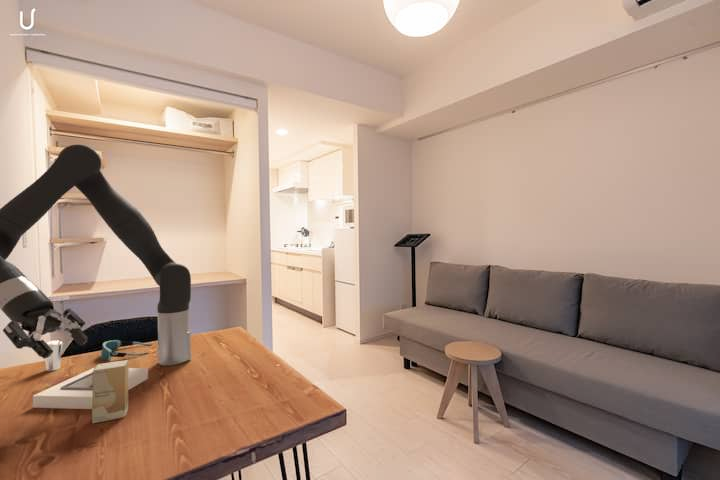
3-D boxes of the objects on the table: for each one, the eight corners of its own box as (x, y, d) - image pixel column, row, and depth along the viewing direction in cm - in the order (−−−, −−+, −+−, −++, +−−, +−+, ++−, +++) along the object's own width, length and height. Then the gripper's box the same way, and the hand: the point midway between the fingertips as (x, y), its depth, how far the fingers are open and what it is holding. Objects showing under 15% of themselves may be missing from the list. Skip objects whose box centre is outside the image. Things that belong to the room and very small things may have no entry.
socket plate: (94, 377, 96) (94, 366, 96) (147, 378, 95) (147, 367, 95) (33, 407, 80) (32, 394, 80) (97, 409, 78) (97, 395, 78)
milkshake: (52, 372, 100) (52, 341, 100) (39, 371, 101) (38, 340, 101) (68, 367, 105) (68, 336, 105) (55, 366, 106) (55, 335, 106)
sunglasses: (105, 350, 120) (107, 337, 121) (152, 349, 127) (154, 336, 127) (95, 363, 108) (97, 348, 108) (147, 361, 114) (149, 347, 115)
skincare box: (91, 424, 72) (90, 370, 72) (96, 415, 76) (95, 363, 76) (126, 417, 75) (125, 365, 75) (129, 408, 79) (128, 358, 79)
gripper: (-4, 294, 69) (46, 348, 68) (62, 284, 83) (104, 329, 83) (-26, 319, 70) (24, 372, 69) (43, 305, 84) (85, 349, 83)
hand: (68, 348), depth 76 cm, fingers open, 8 cm apart
